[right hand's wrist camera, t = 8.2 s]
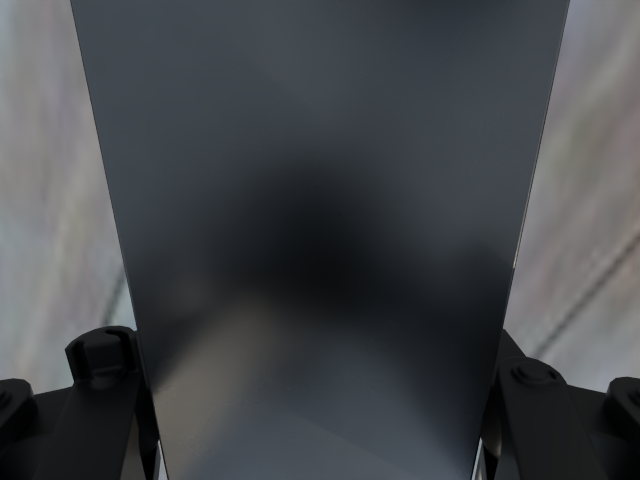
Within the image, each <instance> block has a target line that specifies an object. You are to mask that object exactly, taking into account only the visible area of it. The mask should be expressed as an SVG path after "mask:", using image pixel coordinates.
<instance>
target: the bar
mask: <svg viewBox="0 0 640 480" xmlns="http://www.w3.org/2000/svg"><path fill="white" fill-rule="evenodd" d="M70 2H71V6H72V11H73V16H74V21H75V26H76V31H77V36H78V41H79V46H80V51H81V56H82V61H83V66H84V70H85V75H86V80H87V85H88V90H89V95H90V100H91V105H92V110H93V115H94V120H95V125H96V130H97V134H98V139H99V144H100V149H101V154H102V159H103V164H104V169H105V174H106V179H107V184H108V189H109V194H110V198H111V203H112V208H113V213H114V218H115V223H116V228H117V233H118V238H119V243H120V248H121V253H122V258H123V262H124V267H125V272H126V277H127V282H128V287H129V292H130V297H131V302H132V307H133V312H134V317H135V322H136V326H137V331H138V336H139V341H140V346H141V351H142V356H143V361H144V366H145V371H146V376H147V381H148V386H149V390H150V395H151V400H152V405H153V410H154V415H155V420H156V425H157V430H158V435H159V440H160V445H161V450H162V454H163V459H164V464H165V469H166V474H167V479H168V480H472V475H473V470H474V465H475V460H476V456H477V451H478V446H479V441H480V436H481V431H482V426H483V421H484V417H485V412H486V407H487V402H488V397H489V392H490V387H491V382H492V378H493V373H494V368H495V363H496V358H497V353H498V348H499V343H500V339H501V334H502V329H503V324H504V319H505V314H506V309H507V305H508V300H509V295H510V290H511V285H512V280H513V275H514V270H515V266H516V261H517V256H518V251H519V246H520V241H521V236H522V231H523V227H524V222H525V217H526V212H527V207H528V202H529V197H530V192H531V188H532V183H533V178H534V173H535V168H536V163H537V158H538V154H539V149H540V144H541V139H542V134H543V129H544V124H545V119H546V115H547V110H548V105H549V100H550V95H551V90H552V85H553V80H554V76H555V71H556V66H557V61H558V56H559V51H560V46H561V41H562V37H563V32H564V27H565V22H566V17H567V12H568V7H569V3H570V0H70Z"/></svg>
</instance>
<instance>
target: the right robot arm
mask: <svg viewBox="0 0 640 480" xmlns="http://www.w3.org/2000/svg"><path fill="white" fill-rule="evenodd" d="M65 352H66V356H67V359H68V363H69V366H70V369H71V373H72V376H73V380H74V384H73V386H71V387H68V388H64V389H59V390H55V391H50V392H45V393H41V394H36V395H34V394H33V391H32V388H31V385H30V384H29V383H28V382H27V381H25V380H23V379H14V378H13V379H6V380H0V480H158V477H159V468H160V459H161V457H160V450H159V445H158V441H159V435H158V430H157V425H156V420H155V415H154V410H153V405H152V400H151V395H150V390H149V386H148V381H147V376H146V371H145V366H144V361H143V356H142V351H141V346H140V341H139V336H138V331H135V332H134V331H133V330H132V329H131V328H129V327H124V326H107V327H102V328H98V329H94V330H92V331H89V332H87V333H85V334H82V335H81V336H79V337H78V338H76V339H75V340H73V341H72V342H71V343H70V344H69V345H68V346H67V347H66V348H65ZM480 437H481V439H482V445H481V450H480V455H479V460H478V464H477V469H476V474H475V480H480V478H481V476H482V480H640V379H639V378H632V377H620V378H615V379H614V380H613V381H611V382H610V384H609V387H608V390H607V393H602V392H598V391H593V390H588V389H584V388H579V387H575V386H571V385H567V383H566V381H565V380H564V378H563V377H562V376H561V374H560V373H559V372H558V371H556V370H555V369H554V368H552V367H551V366H550V365H547V364H545V363H543V362H541V361H539V360H537V359H533V358H529V357H526V356H525V354H524V353H523V352H522V351H521V349H520V348H519V347H518V346H517V344H516V343H515V342H514V340H513V339H512V338H511V337H510V335H509V334H508V333H507V332H506V330H505V329H502V334H501V339H500V343H499V348H498V353H497V358H496V363H495V368H494V373H493V378H492V382H491V387H490V392H489V397H488V402H487V407H486V412H485V417H484V421H483V426H482V431H481V436H480Z"/></svg>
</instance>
